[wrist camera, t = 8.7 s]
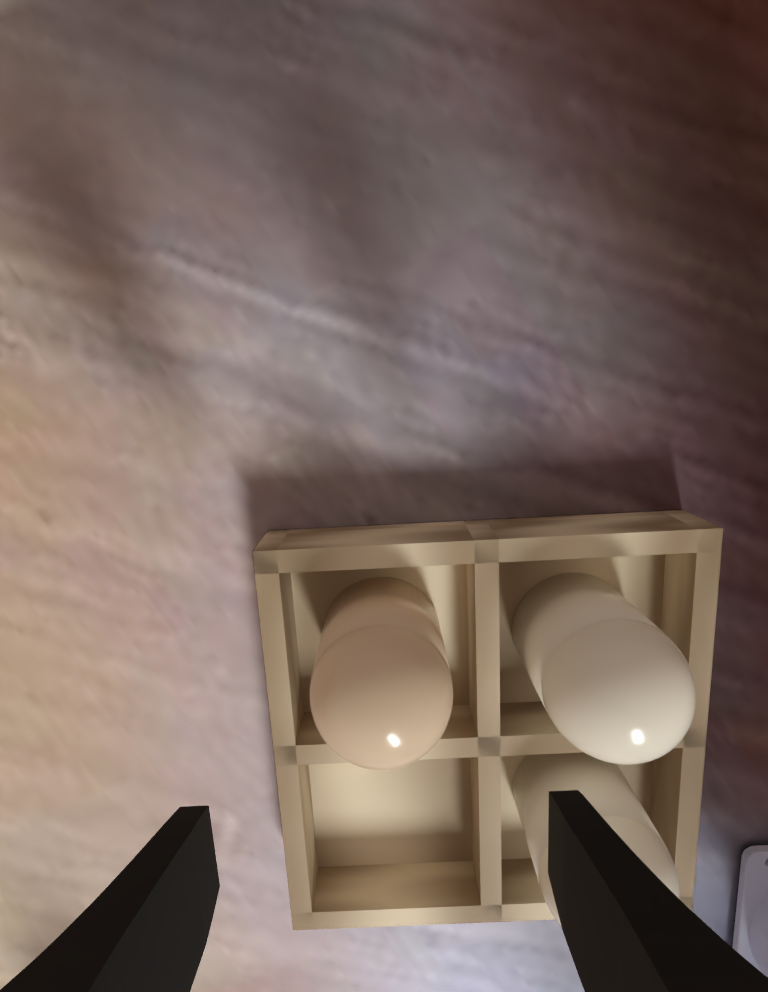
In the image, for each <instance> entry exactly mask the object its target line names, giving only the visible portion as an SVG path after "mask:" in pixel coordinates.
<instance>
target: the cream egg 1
mask: <svg viewBox="0 0 768 992" xmlns="http://www.w3.org/2000/svg"><path fill="white" fill-rule="evenodd" d="M512 637H513V642H514V646H515V649H516V651H517V653H518V655H519V657H520V659H521V661H522V663H523V665H524V667H525V669H526V671H527V673H528V675H529V677H530V679H531V681H532V683H533V685H534V687H535V689H536V691H537V693H538V695H539V697H540V699H541V701H542V703H543V705H544V707H545V709H546V711H547V713H548V715H549V717H550V719H551V720H552V722H553V723H554V725H555V727H556V728H557V729H558V730H559V732H560V733H561V734H562V735H563V736H564V737H565V738H566V739H567V740H568V741H569V742H570V743H571V744H572V745H574V746H575V747H576V748H578V749H579V750H581V751H582V752H584V753H586V754H588V755H590V756H592V757H594V758H596V759H599V760H602V761H605V762H609V763H615V764H622V765H633V764H640V763H646V762H649V761H653V760H655V759H658V758H660V757H662V756H663V755H665V754H667V753H668V752H670V751H671V750H672V749H673V748H675V747H676V746H677V745H678V744H679V742H680V741H681V740H682V739H683V737H684V736H685V734H686V733H687V731H688V729H689V728H690V726H691V723H692V720H693V717H694V712H695V707H696V690H695V683H694V678H693V675H692V672H691V670H690V667H689V664H688V662H687V661H686V659H685V657H684V655H683V654H682V652H681V651H680V649H679V648H678V647H677V646H676V644H675V643H674V642H673V641H672V640H671V639H670V638H669V637H668V636H667V635H666V634H665V633H664V632H663V631H662V630H660V629H659V628H658V627H657V626H656V625H655V624H654V623H653V622H651V621H650V620H649V619H648V618H647V617H646V616H645V615H644V614H643V613H641V612H640V611H639V610H638V609H637V608H636V607H635V606H634V605H632V604H631V603H630V602H629V601H628V600H627V599H626V598H625V597H623V596H622V595H621V594H620V593H619V592H618V591H617V590H616V589H615V588H613V587H612V586H611V585H610V584H609V583H607V582H606V581H604V580H602V579H600V578H598V577H596V576H593V575H590V574H585V573H577V572H573V573H563V574H558V575H555V576H552V577H549V578H547V579H545V580H543V581H542V582H540V583H538V584H537V585H536V586H534V587H533V588H532V589H531V590H530V591H529V592H528V593H527V594H526V595H525V596H524V597H523V599H522V600H521V602H520V603H519V605H518V607H517V609H516V612H515V614H514V618H513V623H512Z"/></svg>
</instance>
